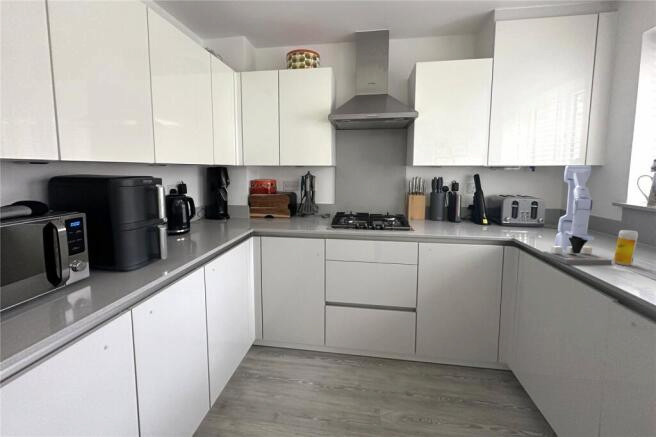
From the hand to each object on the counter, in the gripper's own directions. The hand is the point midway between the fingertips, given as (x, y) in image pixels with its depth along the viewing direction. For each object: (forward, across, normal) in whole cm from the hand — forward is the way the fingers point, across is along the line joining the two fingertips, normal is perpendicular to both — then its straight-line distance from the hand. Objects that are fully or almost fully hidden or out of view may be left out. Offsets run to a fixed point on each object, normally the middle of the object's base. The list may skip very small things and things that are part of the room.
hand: (576, 253), depth 143 cm
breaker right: (+1, -3, +7) cm, 8 cm away
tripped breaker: (+1, -3, 0) cm, 3 cm away
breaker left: (+1, -3, -7) cm, 8 cm away
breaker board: (+3, 0, 0) cm, 3 cm away
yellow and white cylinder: (+3, +7, +16) cm, 17 cm away
